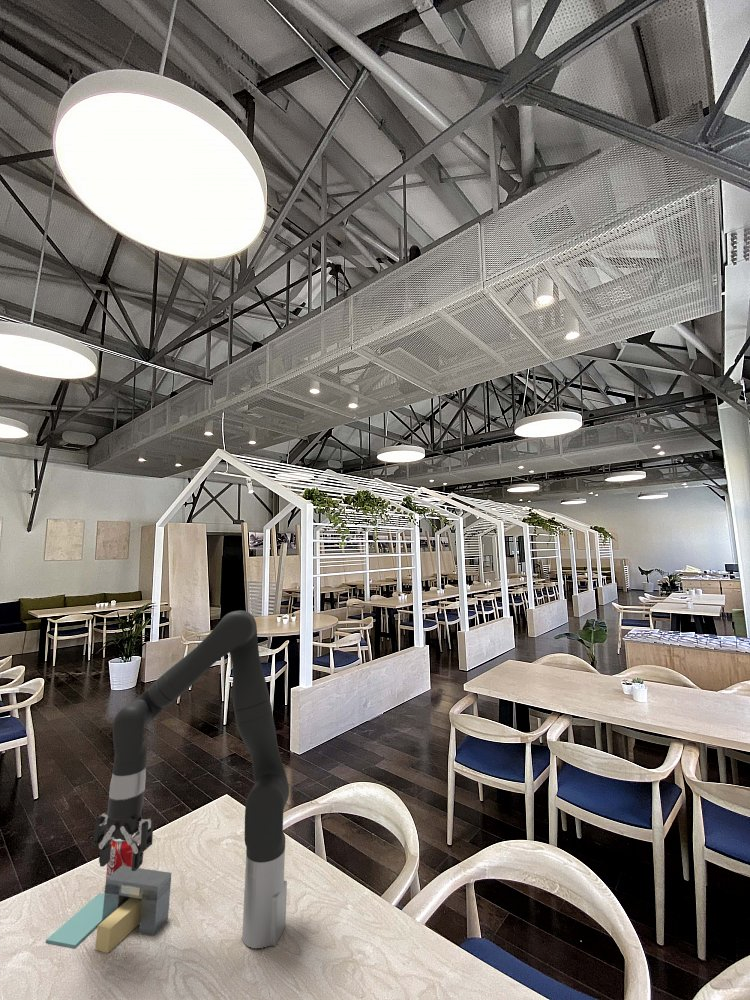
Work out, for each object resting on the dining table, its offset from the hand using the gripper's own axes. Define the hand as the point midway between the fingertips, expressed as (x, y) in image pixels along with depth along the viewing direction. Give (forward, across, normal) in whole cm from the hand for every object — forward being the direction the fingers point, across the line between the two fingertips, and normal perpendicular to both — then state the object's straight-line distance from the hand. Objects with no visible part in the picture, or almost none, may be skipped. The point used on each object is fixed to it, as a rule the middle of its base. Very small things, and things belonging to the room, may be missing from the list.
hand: (120, 866), depth 100 cm
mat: (+16, +12, -6) cm, 21 cm away
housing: (+16, 0, -7) cm, 17 cm away
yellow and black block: (+16, +1, -5) cm, 17 cm away
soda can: (+16, +14, -18) cm, 28 cm away
